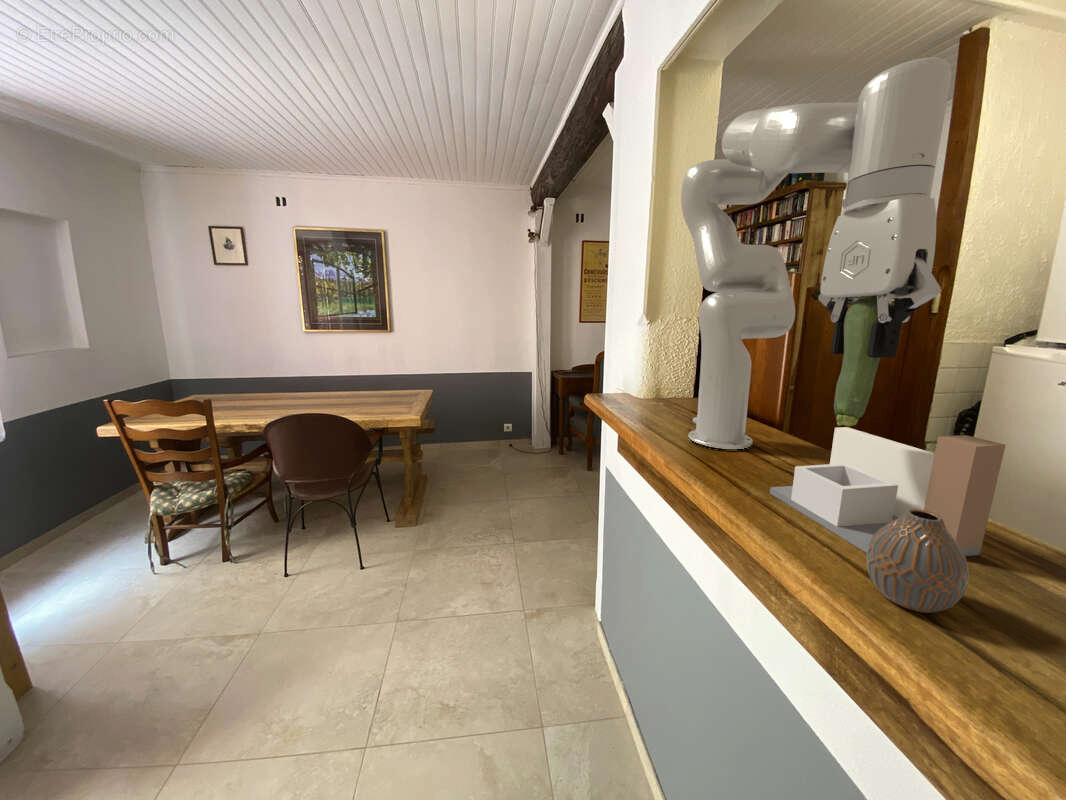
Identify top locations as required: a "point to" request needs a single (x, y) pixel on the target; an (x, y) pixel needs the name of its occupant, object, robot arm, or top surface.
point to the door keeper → (898, 486)
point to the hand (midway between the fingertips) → (861, 353)
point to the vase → (918, 563)
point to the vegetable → (856, 362)
